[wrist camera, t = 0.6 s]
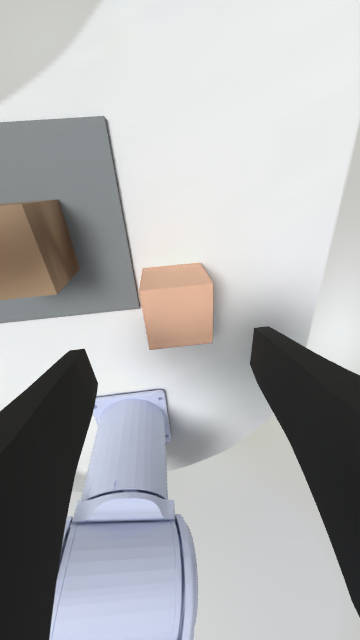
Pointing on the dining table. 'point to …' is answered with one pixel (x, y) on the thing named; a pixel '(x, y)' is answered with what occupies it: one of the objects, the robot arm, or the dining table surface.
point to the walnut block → (34, 250)
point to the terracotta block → (177, 305)
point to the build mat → (71, 211)
